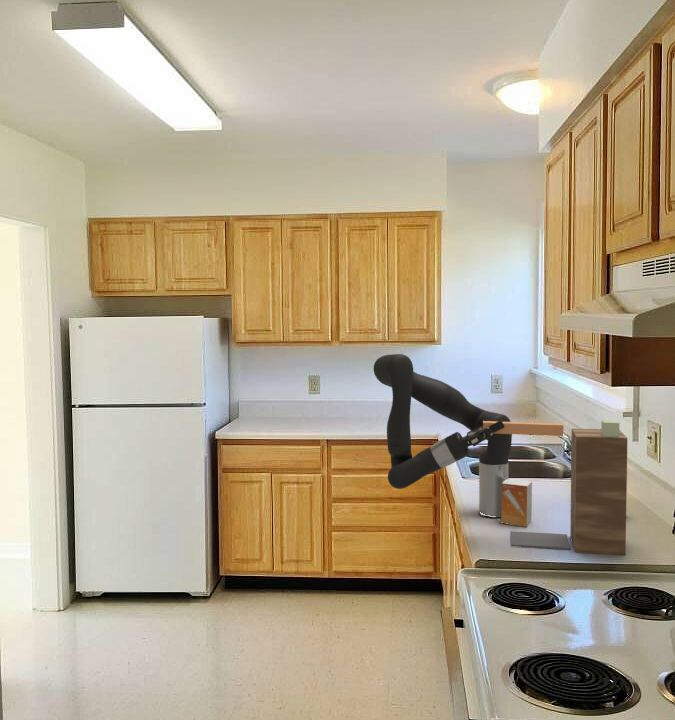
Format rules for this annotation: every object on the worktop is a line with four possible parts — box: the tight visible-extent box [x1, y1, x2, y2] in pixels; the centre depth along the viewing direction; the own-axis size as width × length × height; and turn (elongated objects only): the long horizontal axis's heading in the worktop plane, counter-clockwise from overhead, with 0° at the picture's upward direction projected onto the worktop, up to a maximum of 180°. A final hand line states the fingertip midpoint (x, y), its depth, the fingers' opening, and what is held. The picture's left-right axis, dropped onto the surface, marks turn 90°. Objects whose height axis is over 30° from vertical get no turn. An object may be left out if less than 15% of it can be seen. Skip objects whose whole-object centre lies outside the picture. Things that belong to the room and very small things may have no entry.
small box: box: [500, 478, 533, 528], centre depth 222 cm, size 8×6×13 cm
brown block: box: [483, 421, 564, 437], centre depth 203 cm, size 3×22×3 cm, turn 77°
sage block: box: [601, 419, 620, 438], centre depth 194 cm, size 4×4×4 cm
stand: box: [569, 428, 628, 556], centre depth 200 cm, size 13×13×32 cm
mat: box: [510, 530, 572, 551], centre depth 205 cm, size 12×16×1 cm
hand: (502, 422), depth 204 cm, fingers closed on brown block, 3 cm apart
